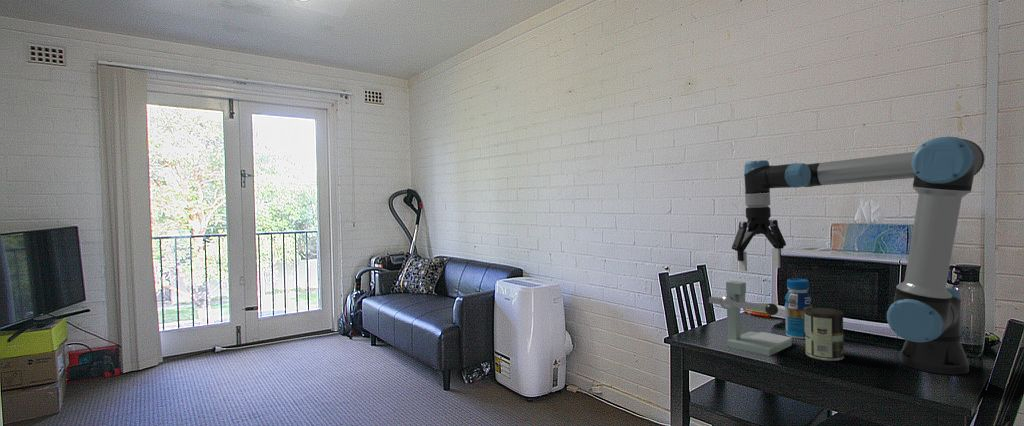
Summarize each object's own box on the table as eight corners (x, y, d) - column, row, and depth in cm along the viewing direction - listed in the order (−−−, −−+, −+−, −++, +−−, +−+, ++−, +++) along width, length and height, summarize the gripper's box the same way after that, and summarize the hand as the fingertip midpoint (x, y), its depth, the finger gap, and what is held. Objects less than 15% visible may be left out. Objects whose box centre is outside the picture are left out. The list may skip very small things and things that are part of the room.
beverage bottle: (780, 332, 180) (780, 278, 179) (805, 332, 179) (804, 277, 178) (791, 339, 171) (790, 282, 171) (817, 339, 170) (816, 281, 170)
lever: (780, 315, 154) (780, 302, 154) (774, 317, 152) (774, 304, 151) (713, 304, 171) (713, 293, 171) (707, 306, 169) (707, 294, 169)
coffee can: (835, 350, 158) (834, 307, 158) (850, 361, 148) (849, 315, 148) (799, 349, 160) (799, 306, 160) (812, 360, 150) (811, 314, 150)
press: (793, 344, 166) (792, 281, 165) (769, 356, 155) (767, 288, 155) (749, 335, 178) (748, 276, 177) (723, 345, 167) (722, 283, 166)
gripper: (778, 204, 174) (781, 264, 175) (719, 208, 167) (721, 270, 168) (796, 204, 167) (798, 267, 167) (734, 208, 160) (737, 273, 161)
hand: (759, 269), depth 168 cm, fingers open, 13 cm apart
